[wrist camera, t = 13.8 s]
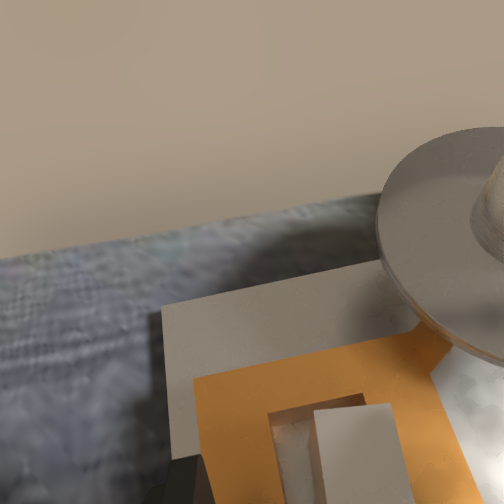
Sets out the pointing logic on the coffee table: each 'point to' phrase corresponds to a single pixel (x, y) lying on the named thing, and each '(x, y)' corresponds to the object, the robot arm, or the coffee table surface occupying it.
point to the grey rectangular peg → (357, 457)
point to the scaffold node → (362, 344)
